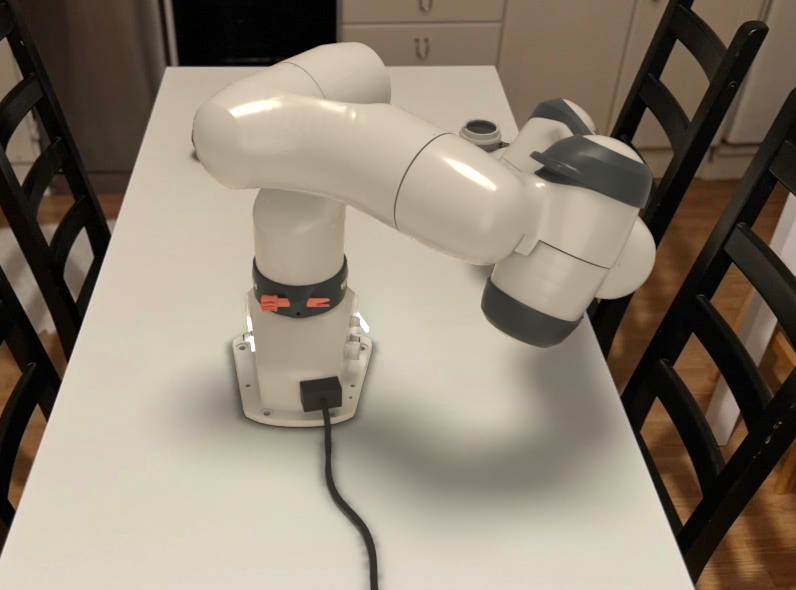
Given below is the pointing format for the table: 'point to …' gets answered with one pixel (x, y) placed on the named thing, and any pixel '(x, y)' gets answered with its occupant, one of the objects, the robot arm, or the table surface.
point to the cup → (481, 133)
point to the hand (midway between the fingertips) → (471, 148)
